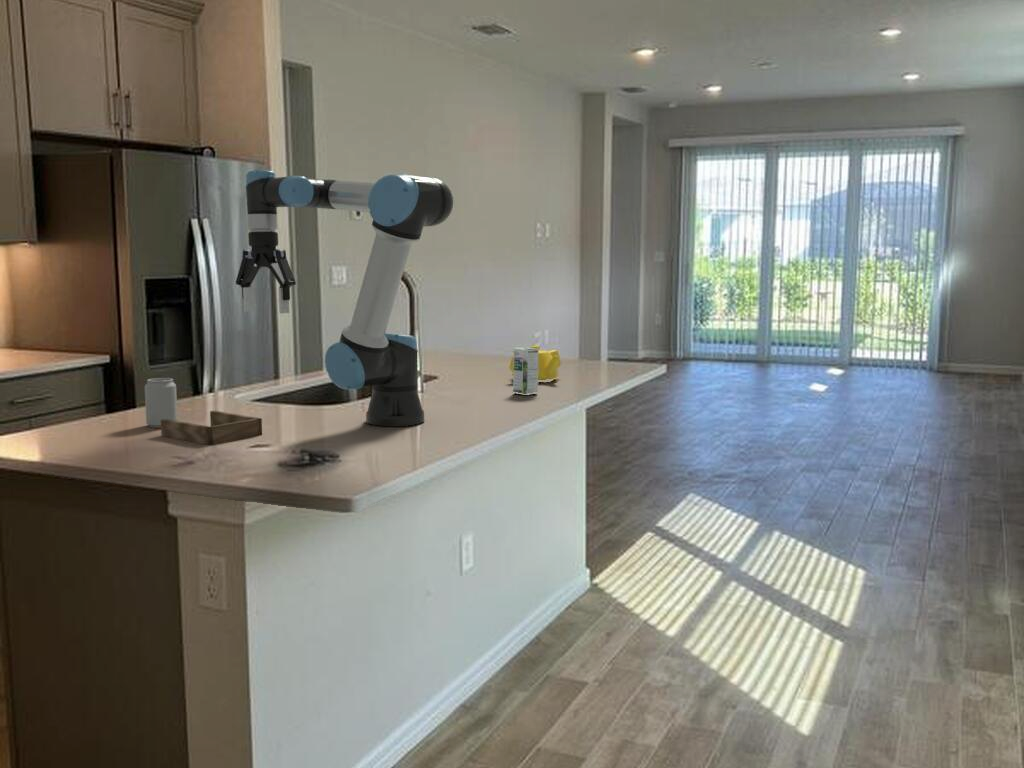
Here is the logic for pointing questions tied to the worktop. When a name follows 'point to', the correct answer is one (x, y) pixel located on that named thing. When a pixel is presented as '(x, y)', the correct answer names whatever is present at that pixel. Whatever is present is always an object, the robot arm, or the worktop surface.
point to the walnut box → (214, 428)
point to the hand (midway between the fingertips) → (266, 312)
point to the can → (160, 401)
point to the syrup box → (525, 370)
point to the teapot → (545, 363)
